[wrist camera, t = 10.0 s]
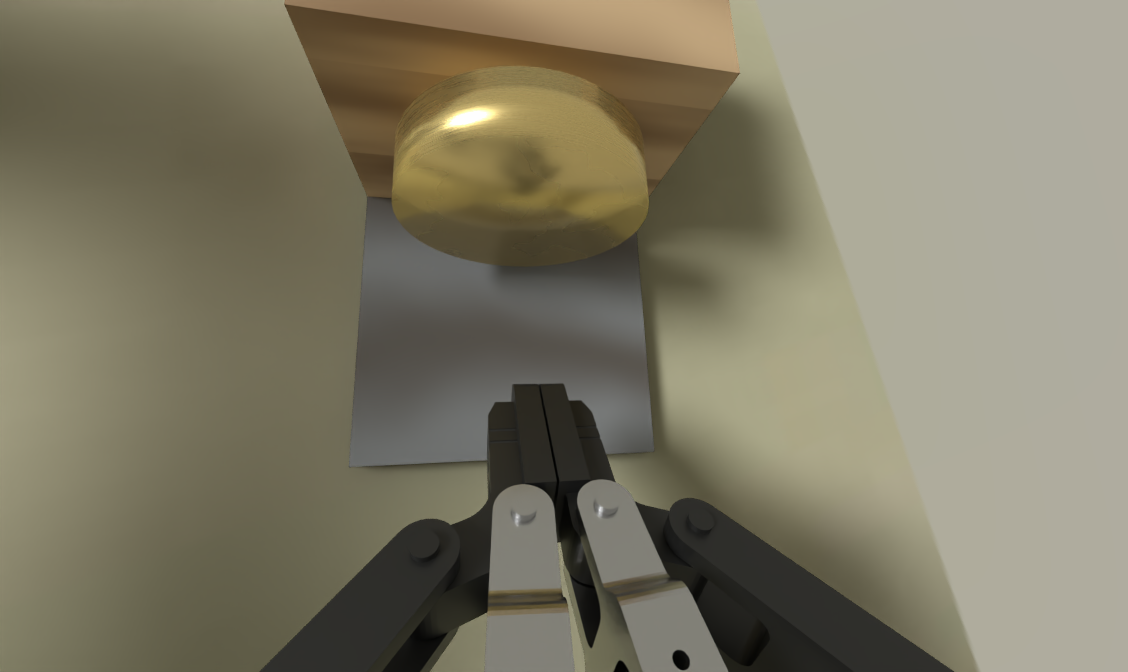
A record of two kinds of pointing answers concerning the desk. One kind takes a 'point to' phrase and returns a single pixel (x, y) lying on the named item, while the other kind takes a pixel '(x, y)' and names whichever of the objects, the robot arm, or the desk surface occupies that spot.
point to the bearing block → (492, 292)
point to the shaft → (519, 168)
